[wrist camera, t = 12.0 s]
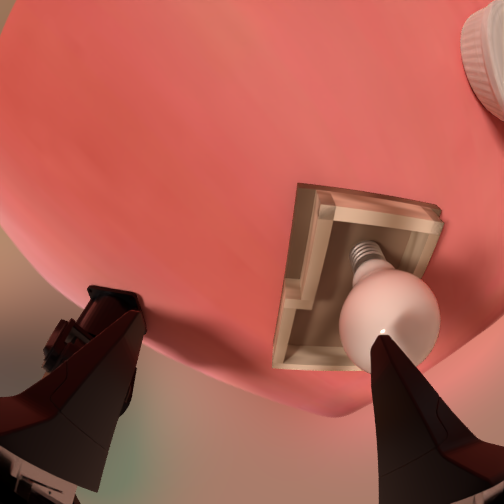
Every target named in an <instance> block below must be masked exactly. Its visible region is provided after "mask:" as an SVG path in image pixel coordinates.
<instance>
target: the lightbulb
mask: <svg viewBox="0 0 504 504" xmlns="http://www.w3.org/2000/svg"><path fill="white" fill-rule="evenodd" d="M349 261H350V264H351V267H352V271H353V274H354V277H353V284H352V286H353V288H352V290H351V291H350V293H349V294H348V296H347V298H346V300H345V302H344V304H343V306H342V309H341V313H340V318H339V336H340V340H341V344H342V346H343V349H344V351H345V353H346V354H347V356H348V357H349V359H350V360H351V361H352V362H353V363H354V364H355V365H356V366H357V367H359V368H360V369H361V370H363V371H365V372H367V373H369V374H371V360H370V350H371V347H372V345H373V343H374V342H375V340H376V338H377V336H378V335H389V336H390V337H391V338H392V339H393V340H394V341H395V343H396V344H397V345H398V346H399V347H400V348H401V350H402V351H403V352H404V353H405V354H406V355H407V357H408V358H409V359H410V360H411V361H412V363H413V364H414V365H415V366H416V367H417V366H418V365H419V364H421V363H422V362H423V361H424V360H425V359H426V358H427V356H428V355H429V354H430V352H431V351H432V349H433V348H434V346H435V343H436V341H437V338H438V335H439V331H440V322H441V318H440V310H439V305H438V302H437V300H436V297H435V295H434V293H433V292H432V290H431V289H430V288H429V286H428V285H427V284H426V283H425V282H424V281H422V280H421V279H420V278H418V277H417V276H415V275H413V274H411V273H408V272H405V271H402V270H397V269H395V268H394V267H393V265H391V264H390V263H389V262H387V261H386V259H385V257H384V255H383V253H382V251H381V249H380V247H379V245H378V244H377V243H375V242H373V241H369V240H366V241H361V242H359V243H357V244H356V245H355V246H353V248H352V249H351V250H350V253H349Z"/></svg>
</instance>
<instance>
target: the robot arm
mask: <svg viewBox="0 0 504 504" xmlns="http://www.w3.org/2000/svg"><path fill="white" fill-rule="evenodd" d="M87 291H88V293H89V296H90V298H91V300H90V301H89V303H88V304H87V306H86V307H85V309H84V310H83V312H82V314H81V315H80V317H79V318H78V320H77V322H75V320H74V319H72V318H71V319H70V320H69V321H65V320H62V319H61V320H60V322H59V323H58V325H57V326H56V328H55V330H54V331H53V333H52V334H51V336H50V338H49V340H48V341H47V343H46V345H45V347H44V349H43V351H44V356H45V357H44V359H43V360H44V362H43V364H42V368H43V369H44V370H46V372H45V374H44V376H43V378H42V379H41V380H40V381H38V382H37V383H35V384H34V385H32V386H31V387H29V388H28V389H26V390H25V391H23V392H22V393H20V394H18V395H15V396H11V397H0V504H80V502H79V500H78V498H77V496H76V494H75V492H76V488H77V486H80V487H83V488H86V489H88V490H91V491H94V492H98V489H99V485H100V481H101V477H102V473H103V469H104V466H105V462H106V458H107V455H108V450H109V447H110V444H111V440H112V437H113V434H114V430H115V427H116V424H117V421H118V418H119V417H120V416H121V415H122V414H123V413H124V412H125V411H126V409H127V408H128V406H129V404H130V401H131V398H132V393H133V387H134V381H135V375H136V369H137V368H136V364H137V360H138V356H139V351H140V348H141V344H142V340H143V336H144V335H145V334H146V333H147V329H146V324H145V321H144V317H143V314H142V312H141V309H140V306H139V302H138V299H137V296H136V295H135V294H134V293H131V292H125V291H119V290H114V289H108V288H103V287H97V286H92V285H90V286H89V287H88V288H87ZM370 360H371V389H372V397H373V406H374V414H375V424H376V436H377V451H378V473H379V504H504V447H503V446H499V445H495V444H491V443H487V442H484V441H481V440H480V439H478V438H477V437H476V436H474V434H473V433H472V432H471V431H470V430H469V429H468V428H467V427H466V426H465V425H464V424H463V423H462V422H461V421H460V419H459V418H458V417H457V416H456V415H455V414H454V413H453V412H452V411H451V409H450V408H449V407H448V406H447V405H446V403H445V402H444V401H443V400H442V398H441V397H439V395H438V393H437V392H436V391H435V390H434V388H433V387H432V386H431V385H430V384H429V382H428V381H427V380H426V378H425V377H424V376H423V375H422V374H421V372H420V371H419V370H418V369H417V367H416V366H415V365H414V364H413V363H412V361H411V360H410V359H409V358H408V357H407V355H406V354H405V353H404V352H403V351H402V350H401V348H400V347H399V346H398V345H397V344H396V343H395V341H394V340H393V339H392V338H391V337H390V336H389V335H378V336H377V338H376V340H375V342H374V343H373V345H372V347H371V350H370Z"/></svg>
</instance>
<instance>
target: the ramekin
mask: <svg viewBox="0 0 504 504" xmlns="http://www.w3.org/2000/svg"><path fill="white" fill-rule="evenodd" d="M460 49H461V57H462V62H463V66H464V69H465V73H466V75H467V78H468V80H469V83H470V85H471V87H472V89H473V91H474V93H475V94H476V96H477V98H478V99H479V100H480V102H481V103H482V104H483V106H485V108H486V109H487V110H488V111H489V112H491V113H492V114H493V115H494V116H496V117H497V118H499V119H500V120H502V121H503V122H504V0H494V1H492V2H491V3H490V4H489V5H488V6H487V7H485V8H483V9H481V10H479V11H477V12H475V13H474V14H472V15H470V17H469V18H468V19H467V20H466V22H465V23H464V26H463V28H462V32H461V39H460Z"/></svg>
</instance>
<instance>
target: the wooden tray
mask: <svg viewBox="0 0 504 504" xmlns="http://www.w3.org/2000/svg"><path fill="white" fill-rule="evenodd" d="M441 211H442V210H441V209H440V208H439V207H438V206H437V205H434V204H429V203H425V202H420V201H415V200H410V199H404V198H399V197H394V196H388V195H382V194H376V193H370V192H364V191H357V190H351V189H344V188H336V187H329V186H321V185H313V184H304V183H297V190H296V198H295V206H294V213H293V220H292V228H291V235H290V242H289V249H288V255H287V262H286V268H285V275H284V281H283V287H282V294H281V300H280V306H279V312H278V318H277V323H276V329H275V335H274V340H273V356H272V368H278V369H293V370H318V371H363V370H361V369H360V368H359V367H357V366H356V365H355V364H354V363H353V362H352V361H351V360H350V359H349V357H348V356H347V354H346V353H345V351H344V349H343V346H342V344H341V340H340V336H339V318H340V313H341V309H342V306H343V304H344V302H345V300H346V298H347V296H348V294H349V293H350V291H351V290H352V288H353V286H352V284H353V277H354V274H353V271H352V267H351V264H350V261H349V253H350V250H351V249H352V248H353V246H355V245H356V244H357V243H359V242H361V241H366V240H369V241H373V242H375V243H377V244H378V245H379V247H380V249H381V251H382V253H383V255H384V257H385V259H386V261H387V262H389V263H390V264H391V265H393V267H394V268H395V269H397V270H402V271H405V272H408V273H411V274H413V275H415V276H417V277H418V278H420V279H421V278H422V276H423V274H424V272H425V270H426V267H427V265H428V263H429V260H430V258H431V256H432V253H433V251H434V248H435V246H436V244H437V241H438V238H439V236H440V233H441V231H442V228H443V225H444V222H443V221H442V220H441V219H440V218H439V217H440V214H441Z"/></svg>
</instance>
